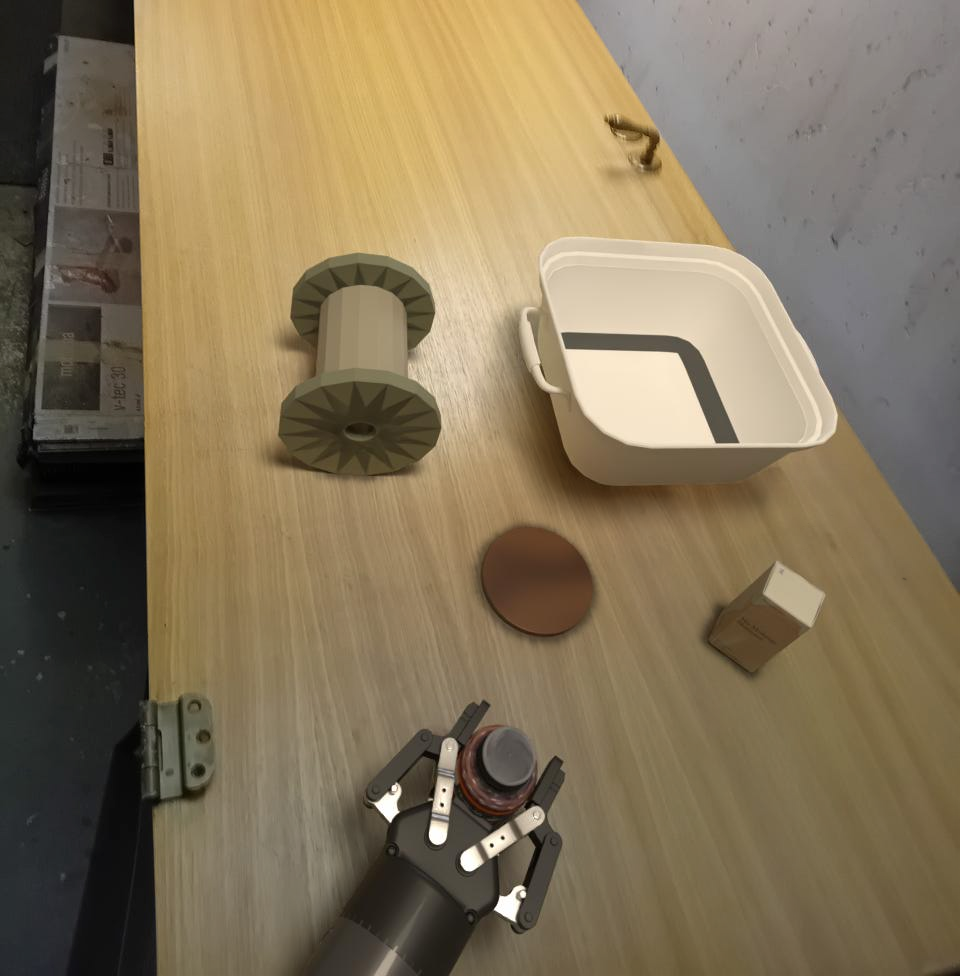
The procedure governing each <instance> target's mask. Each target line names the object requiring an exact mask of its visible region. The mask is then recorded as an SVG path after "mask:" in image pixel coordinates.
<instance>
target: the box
mask: <svg viewBox="0 0 960 976" xmlns="http://www.w3.org/2000/svg"><path fill="white" fill-rule="evenodd" d="M825 598H826V594H825V592H824V591H822V589H820V588H818V587H817V586H815V585H814V584H812V583H811V582H809V580H807V579H805V578H804V577H802V575H800V574H798V573H797V572H795V571H794V570H792V569H791V568H789V567H788V566H786V565H784V564H783V563H782V562H780V561H778V560H775V562H773V563H772V564H771V565H770V566H769V567H768V568H767V569H766V570H765V571H764V572H763V573H761V575H760V576H758V578H756V579H755V580H754V581H753V582H751V584H750V585H749V586H747V588H745V589H744V590H743V591H742V592H741V593H740V594H738V595H737V597H735V598H734V599H733V600H732V601H731V602H730V603H729V604H728V605H726V606H725V608H723V609H722V611H721V613H720V615H719V616H718V618H717V620H716V622H715V624H714V626H713V628H712V630H711V632H710V635H709V637H708V643H709V644H711V645H712V646H713V647H714V648H715V649H717V650H719V651H720V652H721V653H723V655H725V656H727V657H728V658H729V659H730V660H732V661H733V662H734V663H736V664H738V665H739V666H740V667H741V668H743V669H744V670H746V671H747V672H749V673H750V674H753V673H754V672H756V671H758V669H760V668H761V667H762V666H764V665H765V664H766V663H767V662H769V661H770V660H772V658H774V657H775V656H776V655H778V654H779V653H780V652H782V651H783V650H785V649H786V648H787V647H789V646H790V645H791V644H792V643H793V642H795V641H796V640H798V639H799V638H800V637H802V636H803V635H804V634H806V633H807V632H809V631H810V630H811V629H812V628H813V626H814V623H815V622H816V619H817V617H818V614H819V613H820V610H821V607H822V605H823V603H824V600H825Z"/></svg>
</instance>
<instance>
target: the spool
mask: <svg viewBox="0 0 960 976" xmlns="http://www.w3.org/2000/svg"><path fill="white" fill-rule="evenodd" d="M431 289H432V288H431V286H430V283H429V282H428V281H427V280H426V279H425V278H424V277H423V276H422V275H421V274H420V273H419V272H418V271H417V270H416V269H415V267H413V266H411V265H408V264H406V263H404V262H401V261H400V260H397V259H395V258H393V257H391V256H389V255H382V254H374V253H365V252H353V253H348V254H342V255H337V256H331V257H327V258H326V259H323V260H322V261H321V262H319V263H317V264H315V265H313V266H311V267H309V268H307V269H306V270H305V271H304V272H303V274H302V275H301V277H300V278H299V279H298V280H297V282H296V283H295V285H294V286H293V287H292V295H291V305H290V316H289V318H290V321H291V322H292V325H293V327H294V329H295V330H296V333H297V334H298V336H299V337H300V339H302V340H303V341H304V342H306V344H308V345H310V346H311V347H312V348H313V349H315V350H316V359H315V360H316V361H315V374H314V376H313V377H311V378H309V379H307V380H305V381H303V382H301V383H298V384H296V385H295V386H294V388H293V389H292V390H291V391H290V392H289V393H288V395H287V396H286V397H285V398H284V399H283V401H282V402H281V403H280V412H279V413H280V414H279V421H278V423H279V424H278V433H277V436H278V437H279V439H280V441H281V442H282V444H283V445H284V447H285V449H286V450H287V452H288V453H289V454H290V455H292V456H293V457H294V458H296V459H298V460H300V461H301V462H303V463H304V464H306V465H307V466H308V467H312V468H314V469H318V470H322V471H325V472H329V473H331V474H336V475H347V476H349V475H350V476H366V477H367V476H372V475H379V474H385V473H391V472H393V473H394V472H397V471H399V470H401V469H403V468H406V467H409V466H411V465H413V464H416V463H418V462H420V461H421V460H422V459H423V458H424V457H425V456H426V455H427V454H429V453H430V452H431V451H432V450H434V448H435V447H437V443H438V440H439V438H440V434H441V432H442V427H443V426H442V415H441V412H440V409H439V406H438V403H437V400H436V397H435V396H434V395H433V394H432V393H431V392H429V391H428V390H427V389H426V388H425V387H424V386H422V385H421V384H420V383H419V382H418V381H417V380H414V379H411V378H409V360H408V359H409V358H408V355H409V353H408V352H409V351H410V350H413V349H415V348H416V347H417V346H419V344H420V343H421V342H422V341H424V339H425V338H426V337H427V336H428V335H429V334H430V333H431V331H432V327H433V323H434V320H435V316H436V302H435V299H434V296H433V292H432V290H431Z"/></svg>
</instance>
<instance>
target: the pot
mask: <svg viewBox="0 0 960 976" xmlns="http://www.w3.org/2000/svg"><path fill="white" fill-rule="evenodd" d="M537 263H538V264H537V265H538V266H537V267H538V281H539V282H538V283H539V289H540V292H541V302H540V303H541V305H540V307H539V306H538V307H537V306H525V307H524V308H522V309H521V311H520V313H519V316H518V317H519V318H518V322H519V323H518V325H517V331H518V332H517V333H518V339H519V343H520V349H521V352H522V356H523V359H524V362H525V365H526V367H527V370H528V372H529V373H530V374H531V375H532V378H533V380H534V381H535V383H536V385H537V386H538V387H539V388H540V389H541V390H542V391H544V392H545V393H549V396H550V400H551V404H552V408H553V412H554V415H555V419H556V422H557V423H556V424H557V426H558V427H557V428H558V431H559V435H560V438H561V442H562V446H563V449H564V451H565V453H566V455H567V457H568V459H569V462H570V463H571V465H572V466H573V467H574V468H575V469H576V470H578V472H579V473H581V475H583V477H586V478H587V479H589V480H591V481H593V482H595V483H597V484H599V485H606V486H612V487H617V486H618V487H621V486H623V487H624V486H625V487H626V486H627V487H628V486H672V485H674V486H676V485H677V486H678V485H718V484H719V485H720V484H721V485H723V484H724V485H725V484H735V483H739V482H743V481H746V480H748V479H749V478H751V477H753V476H755V475H757V474H758V473H759V472H761V471H763V470H765V469H766V468H768V467H770V466H771V465H773V464H774V463H776V462H778V461H780V460H782V458H785V457H786V456H788V455H790V454H792V453H797V452H802V451H806V450H810V449H812V448H815V447H818V446H822V445H824V444H825V443H826V442H827V441H828V440H830V438H831V437H832V436H833V435H834V434H836V431H837V427H838V426H837V424H838V418H839V414H838V411H837V408H836V405H835V402H834V399H833V397H832V394H831V392H830V391H829V389H828V387H827V385H826V383H825V381H824V380H823V378H822V376H821V373H820V368H819V367H818V364H817V361H816V359H815V357H814V355H813V353H812V351H811V349H810V347H809V345H808V344H807V342H806V340H805V339H804V337H802V335H801V333H800V332H799V330H797V329H796V327H795V325H794V323H793V321H792V319H791V318H790V315H789V314H788V312H787V310H786V308H785V306H784V304H783V302H782V300H781V298H780V297H779V294H778V293H777V291H776V290H775V287H774V285H773V284H772V282H771V281H770V279H769V278H768V277H767V276H766V274H765V272H763V270H762V269H761V268H760V267H758V266H757V265H756V264H755V263H754V262H752V261H751V260H750V259H748V257H746V256H744V255H742V254H740V253H737V252H735V251H734V250H730V249H728V248H725V247H721V246H717V245H710V244H699V243H687V242H686V243H685V242H672V241H671V242H670V241H666V242H665V241H654V240H653V241H652V240H639V239H638V240H637V239H624V238H623V239H622V238H611V237H610V238H608V237H594V236H580V235H579V236H578V235H577V236H564V237H559V238H557V239H555V240H553V241H551V242H549V243H546V244H545V245H544V246H543V248H542V250H541V252H540V253H539V255H538V256H537ZM529 314H533V315H539V323H538V334H537V346H536V342H535V338H534V333H533V329H532V325H531V321H528V315H529ZM541 366H542V370H541V368H540V367H541ZM542 371H543V373H542ZM543 374H544V375H543Z"/></svg>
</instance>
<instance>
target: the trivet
mask: <svg viewBox="0 0 960 976" xmlns="http://www.w3.org/2000/svg"><path fill="white" fill-rule="evenodd" d="M481 584H482V589H483V593H484V595H485V597H486V599H487V601H488V603H489V605H490V606H491V608H492V609H493V611H494V612H495V614H497V616H498V617H499V618H500V619H502V620H503V621H504V622H505V623H506V624H507V625H509V626H510V627H512V628H513V629H515V630H517V631H520V632H522V633H525V634H527V635H531V636H535V637H536V636H537V637H553V636H558V635H562V634H564V633H567V632H569V631H571V630H572V629H573V628H575V627H576V626H577V625H578V624H579V623H580V622H581V621H582V620H583V618H584V617H585V616H586V614H587V613H588V611H589V608H590V606H591V603H592V600H593V590H594V589H593V588H594V586H593V579H592V575H591V571H590V567H588V564H587V562H586V561H585V558H584V557H583V555H582V554H581V553H580V552H579V550H578V549H577V547H575V545H573V544H572V543H571V542H570V541H568V540H567V539H566V538H564V537H563V536H561V535H560V534H557V533H555V532H553V531H550V530H548V529H544V528H542V527H534V526H525V527H519V528H518V527H517V528H514V529H511V530H509V531H506V532H505V533H503V534H501V535H500V536H499V537H497V538H496V539H495V540H494V541H493V543H492V544H491V545H490V547H489V548H488V550H487V551H486V554H485V556H484V558H483V560H482V566H481Z"/></svg>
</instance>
